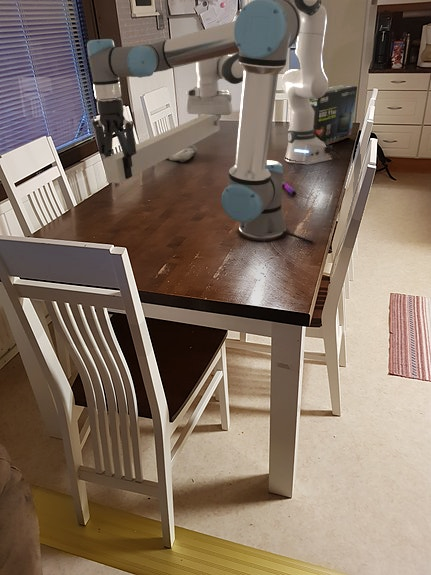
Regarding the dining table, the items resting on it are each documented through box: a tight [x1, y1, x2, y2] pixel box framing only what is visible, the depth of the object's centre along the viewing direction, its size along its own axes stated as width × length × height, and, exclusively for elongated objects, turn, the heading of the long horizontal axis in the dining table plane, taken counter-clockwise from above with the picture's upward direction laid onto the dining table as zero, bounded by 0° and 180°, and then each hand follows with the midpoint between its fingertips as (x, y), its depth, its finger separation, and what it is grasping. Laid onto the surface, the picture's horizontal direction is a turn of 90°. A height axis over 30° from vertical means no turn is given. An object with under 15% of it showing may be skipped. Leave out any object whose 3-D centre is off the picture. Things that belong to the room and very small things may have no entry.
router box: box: [309, 84, 358, 144], centre depth 238 cm, size 36×11×27 cm, turn 134°
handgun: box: [282, 179, 297, 197], centre depth 185 cm, size 21×8×2 cm, turn 11°
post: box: [102, 114, 221, 184], centre depth 171 cm, size 78×5×7 cm, turn 156°
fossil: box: [166, 145, 199, 163], centre depth 229 cm, size 18×11×15 cm
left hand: (121, 176), depth 146 cm, fingers closed on post, 5 cm apart
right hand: (210, 125), depth 198 cm, fingers closed on post, 5 cm apart
